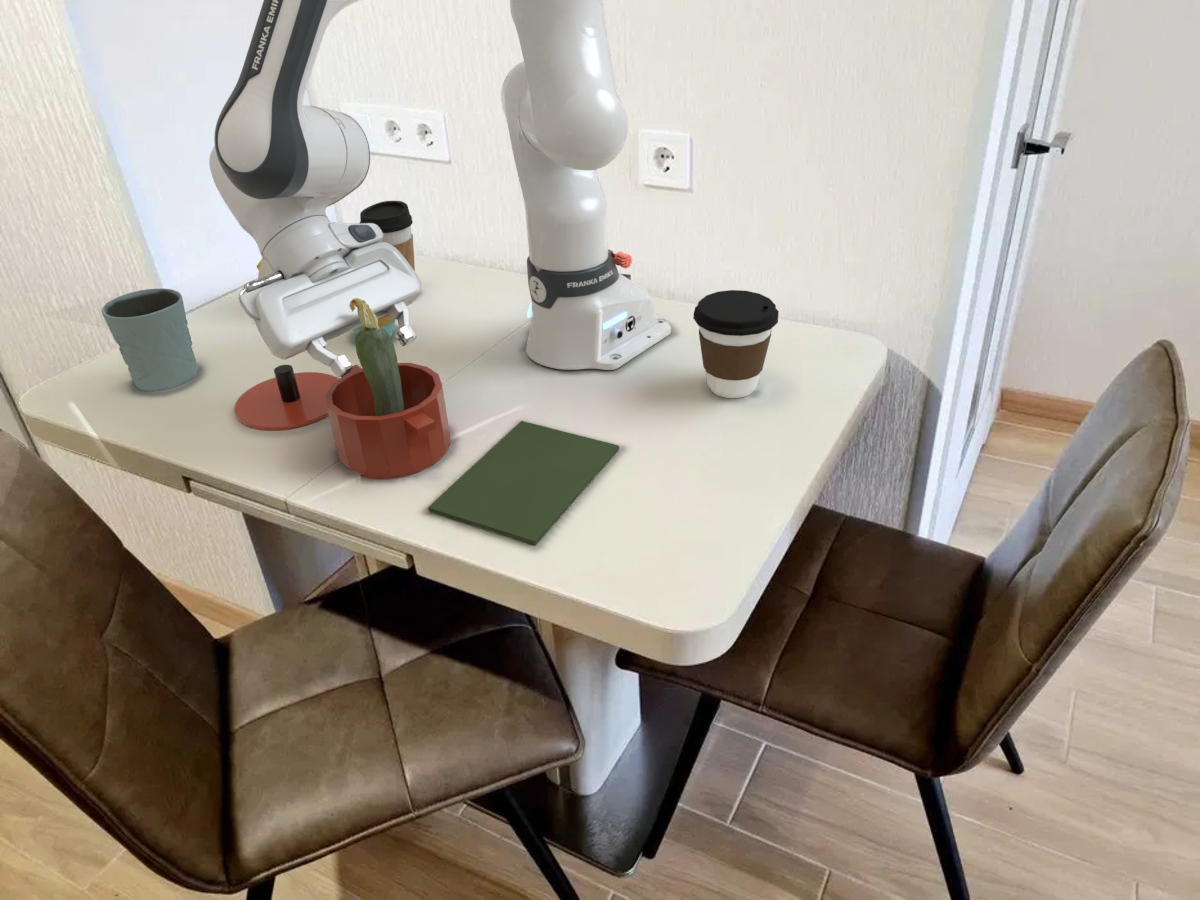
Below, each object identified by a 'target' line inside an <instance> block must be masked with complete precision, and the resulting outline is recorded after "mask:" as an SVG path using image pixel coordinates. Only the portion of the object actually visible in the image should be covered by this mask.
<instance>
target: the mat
mask: <svg viewBox="0 0 1200 900" xmlns="http://www.w3.org/2000/svg"><path fill="white" fill-rule="evenodd" d="M618 451H620V445H618V444H615V443H610V442H607V441H603V440H599V439H595V438H592V437H587V436H583V435H578V434H576V433H571V432H567V431H563V430H559V429H556V428H551V427H549V426H543V425H540V424H536V423H532V422H528V421H524V420H520V421H519V422H518V423H517V424H516V425H515V426H514V427H513V428H512V429H511V430H510V431H509V432H507V433H506V434H505V435H504V436H503V437H502V438H501V439H500V440H499V441H498V442H497V443H496V444H495V445H493V447H492V448H490V449H489V450H488V451H487V452H486V453H484V455H483V456H482V457H481V458H480V459H478V460H477V461H476V462H475V463H474V464H473V465H472V466H471V467H470V468H469V469H468V470H467V471H465V472H464V473H463V474H462V475H461V476H459V478H458V479H457V480H456V481H454V482H453V483H452V485H450V486H449V487H448V488H447V489H446V490H445V491H444V492H443V493H442V494H441V495H439V496H438V497H437V499H435V500H434V501H433V502H432V503H431V504H430V505H428V507H427V511H428V512H429V513H433V514H435V515H438V516H442V517H445V518H448V519H452V520H454V521H458V522H461V523H464V524H467V525H470V526H474V527H477V528H480V529H483V530H486V531H489V532H492V533H495V534H499V535H502V536H505V537H508V538H511V539H513V540H517V541H519V542H523V543H527V544H529V545H532V546H536V545H537V544H538V543H539V542H540V541H541V540H542V539H543V538H544V536H546V534H547V533H548V532H549V530H550V529H551V528H552V527H553V526H554V525H555V524H556V522H558V520H559V519H560V518H561V516H563V514H565V512H566V511H567V510H568V508H569V507H570V506H571V505H572V504H573V503H574V502H575V501H576V499H578V497H579V496H580V495H581V494H582V493H583V491H584V490H585V489H586V488H587V487H588V486H589V484H591V482H592V481H593V480H594V479H595V478H596V477H597V475H598V474H599V473H600V472H601V471H602V469H604V467H605V466H606V465H607V464H608V463H609V461H610V460H611V459H612V458H613V457H614V456H615V455H616V453H617V452H618Z"/></svg>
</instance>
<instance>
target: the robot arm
mask: <svg viewBox="0 0 1200 900" xmlns="http://www.w3.org/2000/svg"><path fill="white" fill-rule="evenodd" d="M357 2H361V0H263V1H262V4H261V8H260V10H259V14H258V18H257V20H256V23H255V27H254V30H253V33H252V37H251V39H250V43H249V46H248V50H247V52H246V56H245V59H244V62H243V66H242V69H241V70H240V71H241V72H240V75H239V76H238V79H237V82H236V84H235V86H234V87H233V90H232V92H231V94H230V95H229V97H228V98H227V100H226V102H225V104H224V105H223V107H222V108H221V111H220V114H219V115H218V118H217V120H216V124H215V128H214V138H213V139H214V146H213V148H212V150H211V152H210V154H209V159H208V164H209V166H208V167H209V170H210V174H211V178H212V180H213V182H214V183H213V184H214V185H215V187H216V190H217V191H218V193H219V195H220V197H221V198H222V201H223V202H224V204H225V205H226V207H227V208H228V209H229V211H230V213H231V214H232V216H233V217H234V219H235V220H236V222H237V223H238V225H239V226H240V227H241V229H242V230H244V231H245V232H246V233H247V234H248V235H250V236H251V237H252V238H253V240H254V241H255V243H256V245H257V248H258V251H259V254H260V256H261V258H262V257H263V259H264V260H265V262H266V263H267V264H268V266H269V267H270V269H271V270H272V272H273V273H272V274H269V275H267V276H265V277H263V278H261V279H259V280H258V279H256V280H250V281H249V282H246V283H245V284H243V288H242V289H241V290H240V291H239V294H238V301H239V304H240V306H241V307H242V309H243V310H244V312H245V313H246V315H247V316H248V317H249V318H251V319H252V320H254V324H255V325H256V328H257V329H258V332H259V334H260V336H261V337H262V340H263V342H264V343H265V345H266V347H267V348H268V350H269V351H270V353H271V354H272V355H273V356H274V357H276V358H279V359H281V360H283V361H284V360H289V359H290V358H292V357H295V356H298V355H299V354H302V353H304V352H306V351H307V353H308V354H309V355H310V357H311V358H312V359H313V360H315V361H317V362H319V363H321V364H323V365H325V366H327V367H329V368H330V370H331V371H332V372H333V374H334V375H335V377H337V378H341V376H343V375H345V374H347V373H349V372H350V371H351V370H352V366H353V365H352V363H351V362H350V361H348V357H347V356H346V355H345V354H342V355H339V356H338V355H336V354H335V353H333V352H331V351H330V350H329V349H327V348H326V347H327V345H328V343H327V342H328V341H331V340H333V339H335V338H337V337H341V336H342V335H344V334H347V333H349V332H351V331H354V330H353V329H356V328H358V327H360V326H362V325H363V324H362V323H361V321H360V319H359V316H358V312H357V307H356V306H354V307H355V309H354V312H352V310H351V309H350V306H349V305H350V302H351V301H352V300H353V299H354V298H359V299H361V300H365V301H366V302H365V303H367V304H368V305H369V307H370V309H371V310H372V311H373V312H374V314H375V315H376V317H377V319H378V318H380V317H382V316H385V315H387V314H389V315H390V317H391V318H392V320H395V321H397V326H398V330H397V332H396V333H395V334H394V337H395V338H396V340H397V341H398V342H399V344H400V346H402V347H405V346H407V345H410V344H412V343H413V342H415V340H416V339H417V335H416V333H415V331H414V330H413V328H412V327H411V326H410V323H411V322H410V313H409V308H408V306H409V305H412V304H413V303H414V302H415V301H416V299H417V298H418V297H419V296H420V295H421V292H422V281H421V279H420V277H419V276H418V274H417V273H416V270H415V271H414V270H413V268H412V267H411V266H410V264H409V263H408V262H407V260H406V259H405V258H404V257H403V256H402V254H401V253H400V252H399V251H398V250H397V249H396V248H395V247H394V246H392V245H391V244H389V243H386V242H381V240H382V238H383V232H382V231H381V229H380V228H379V226H378V225H376V224H373V223H360V222H358V223H353V222H352V223H350V222H348V223H347V222H338V221H337V222H335V221H334V222H332V221H331V220H330V218H329V217H328V216H327V213H326V210H327V208H328V207H331V206H332V205H334V204H337V203H338V202H340V201H341V200H343V199H344V198H346V197H347V196H348V195H350V194H352V193H353V192H354V191H356V190H357V189H358V188H360V186H361V185H362V184H363V182H364V181H365V179H366V178H367V176H368V173H369V169H370V165H371V148H370V144H369V140H368V137H367V135H366V133H365V131H364V129H363V128H362V126H361V125H360V124H359V123H358V121H357V120H356V119H355V118H353V117H352V116H350V115H348V114H347V113H344V112H340V111H337V110H334V109H330V108H325V107H321V106H316V105H306V104H304V97H305V94H306V91H307V87H308V85H309V81H310V79H311V76H312V72H313V69H314V66H315V62H316V61H317V57H318V54H319V50H320V47H321V44H322V41H323V38H324V36H325V33H326V30H327V28H328V27H329V25H330V23H331V21H333V19H334V18H335V17H336V16H337V14H339V13H340V12H341V11H342V10H344V9H345V8H347V7H349V6H350V5H352V4H355V3H357ZM509 10H510V16H511V18H512V19H511V20H512V21H513V23H514V26H515V29H516V33H517V37H518V40H519V45H520V49H521V54H522V58H523V61H521V62H519V63H517V64H516V65H515V66H513V68H511V69H510V71H508V72H507V75H506V76H505V78H504V80H503V82H502V85H501V89H500V103H501V104H500V105H501V108H502V111H503V114H504V117H505V121H506V124H507V130H508V134H509V140H510V144H511V149H512V156H513V160H514V164H515V169H516V172H517V177H518V181H519V185H520V189H521V195H522V199H523V205H524V214H525V223H526V224H525V225H526V236H527V245H528V256H527V258H526V274H527V285H528V289H529V290H528V291H529V294H530V298H531V301H530V304H529V307H528V310H527V312H526V316H527V319H529V318H530V320H529V321H530V322H529V323H530V324H529V330H528V337H527V342H526V347H525V352H526V355H527V357H529V359H531V360H532V361H533V362H535V363H536V364H538V365H541V366H544V367H547V368H550V369H556V370H565V371H567V370H569V371H571V370H573V371H575V370H577V371H578V370H590V369H593V370H594V369H595V370H602V371H613V370H614V371H615V370H617V369H619V368H621V367H622V366H624V365H625V364H626V363H628V362H629V361H631V360H632V359H635V358H636V357H637V356H639V355H641V354H642V353H644V352H645V351H646V350H649V348H651V347H652V346H654V345H655V344H657V343H658V342H660V341H661V340H663V339H665V338H666V337H668V336H669V335H671V333H672V327H671V324H670V323H669V321H667V319H666V318H665V317H663V316H661V315H660V314H659V313H656V308H655V304H654V303H655V302H654V299H653V297H652V296H651V294H650V293H649V291H647V290H646V289H645V288H644V287H642V286H641V285H639V284H638V283H636V282H634V281H632V275H631V274H630V273H629V274H627V273H620V272H619V270H618V267H617V266H619V267H621V268H623V269H629V268H630V267H631V264H633V257H632V256H631V254H629V253H624V252H623V251H618V252H616V253H615V252H614V251H613V250H611V249H609V232H608V201H607V197H606V194H605V191H604V189H603V187H602V183H601V180H600V177H599V174H598V170H599V169H602V168H605V167H606V166H607V165H609V164H610V163H612V162H613V161H614V160H615V159H616V158H617V157H618V156H619V154H620V153H621V151H623V148H624V146H625V143H626V141H627V137H628V132H629V131H628V129H629V122H628V116H627V112H626V110H625V107H624V105H623V103H622V100H621V97H620V95H619V91H618V88H617V84H616V78H615V77H616V76H615V73H614V67H613V61H612V56H611V55H612V54H611V50H610V45H609V40H608V33H607V29H606V22H605V13H604V0H509Z"/></svg>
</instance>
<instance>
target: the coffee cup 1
mask: <svg viewBox="0 0 1200 900" xmlns="http://www.w3.org/2000/svg"><path fill="white" fill-rule="evenodd" d="M359 218H360V219H359V223H373V224H376V225H378V226H379V228H380V229H381V231H382V232H383V238H382V240H381V242H386V243H389V244H391V245H392V246H394V247H395V248H396V249H397V250H398V251H399V252H400V253H401V254H402V256H403V257H404V258H405V259H406V260H407V262H408V263H409V264H410V266H411V267H412V268H413V270H414V271H415V272H416V267H415V266H416V265H415V264H416V263H415V250H414V248H415V247H414V235H413V233H412V225H413V223H414V222H413V216H412V214H411V213H410V210H409V206H408V203H406V202H404V201H402V200H385V201H380V202H377V203H374V204H372V205H369V206H367V207H365V208H364V209H363V210H362V211H360V213H359Z"/></svg>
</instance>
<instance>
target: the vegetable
mask: <svg viewBox="0 0 1200 900" xmlns="http://www.w3.org/2000/svg"><path fill="white" fill-rule="evenodd" d="M365 302H366V301H365V300H361V299H359V298H354V299H353V300H352V301H351V302H350V305H349V306H350V309H351V310H352V312H354V309H355V307H354V306H356V307H357V312H358V316H359V319H360V321H361V323H362V324H363V325H362V327H364V328H363V329H362V330H360V331H359V333H358V334H357V335H356V337H355V352H356V355H357V359H358V361H359V364H360V367H361V368H363V371H364V374H365V376H366V378H367V381H368V382H369V384H370V386H371V388H372V392H373V396H374V405H375V415H376V416H383V415H389V414H394V413H399V412H402V411H404V403H403V396H402V387H401V379H400V374H399V369H398V363H399V362H398V356H397V352H396V348H395V344H394V342H393V339H392V336H391V337H390V335H389V333H388V332H387V331H386V330H385V329H384V328H382V327H380V326H379V325H378V319H377V317H376V315H375V314H374V312H373V311H372V310H371V309H370V307H369V305H368V304H367V303H365Z"/></svg>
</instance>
